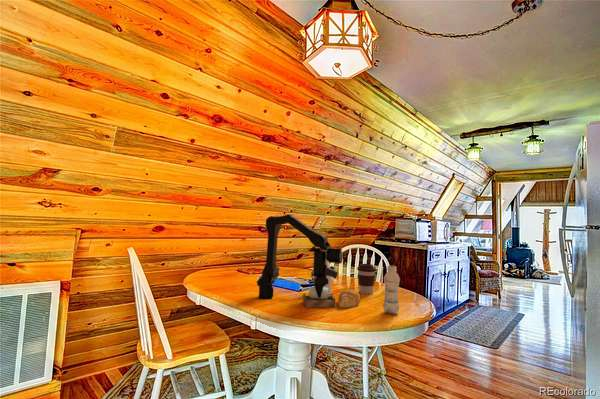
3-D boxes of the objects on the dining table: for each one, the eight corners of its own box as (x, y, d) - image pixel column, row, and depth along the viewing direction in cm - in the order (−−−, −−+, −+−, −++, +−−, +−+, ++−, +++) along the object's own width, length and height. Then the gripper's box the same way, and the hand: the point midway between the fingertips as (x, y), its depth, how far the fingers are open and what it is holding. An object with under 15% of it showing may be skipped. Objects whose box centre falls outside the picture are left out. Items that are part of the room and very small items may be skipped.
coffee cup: (354, 293, 170) (355, 265, 171) (358, 289, 179) (359, 262, 180) (373, 296, 166) (374, 266, 167) (376, 291, 175) (377, 264, 176)
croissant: (346, 318, 140) (354, 303, 138) (327, 304, 144) (335, 289, 143) (362, 306, 158) (369, 292, 157) (345, 293, 163) (352, 280, 161)
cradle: (303, 306, 143) (304, 297, 143) (302, 301, 151) (303, 293, 151) (335, 307, 144) (335, 298, 144) (332, 302, 152) (332, 293, 152)
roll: (309, 299, 145) (310, 288, 145) (309, 296, 150) (309, 286, 150) (328, 300, 145) (328, 289, 145) (327, 297, 150) (327, 286, 150)
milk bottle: (330, 295, 164) (331, 256, 165) (315, 294, 166) (316, 255, 166) (332, 292, 172) (333, 254, 172) (317, 291, 173) (318, 253, 174)
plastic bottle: (380, 310, 141) (381, 264, 142) (395, 310, 141) (396, 265, 142) (385, 315, 134) (386, 267, 135) (401, 315, 135) (402, 267, 136)
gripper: (340, 265, 139) (339, 301, 139) (334, 259, 158) (333, 291, 157) (314, 264, 139) (313, 301, 138) (311, 258, 157) (310, 290, 157)
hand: (318, 295), depth 148 cm, fingers closed on roll, 5 cm apart
